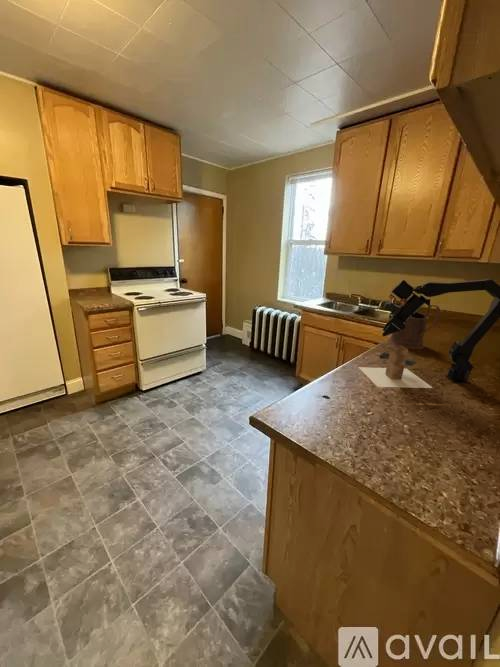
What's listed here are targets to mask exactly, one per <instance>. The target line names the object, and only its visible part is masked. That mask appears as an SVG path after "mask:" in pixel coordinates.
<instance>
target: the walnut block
mask: <svg viewBox="0 0 500 667" xmlns="http://www.w3.org/2000/svg"><path fill="white" fill-rule="evenodd" d="M408 352H409V348H405V347H403V346H397V345H393V344H391V345H390V350H389V359H387V364H386V367H385V368H386V373H385V375H386V376H388V377H389V378H390V379H402V375H403V371H404V368H405V362H406V359H408V358H407V357H408Z"/></svg>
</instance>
